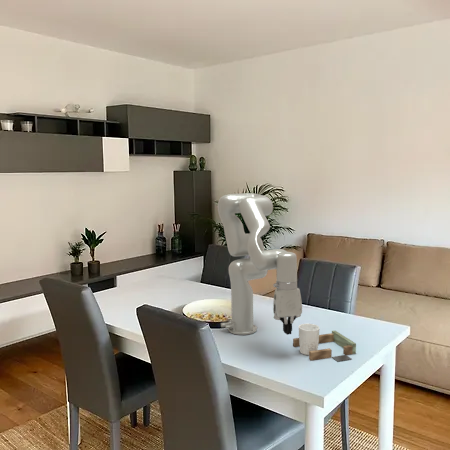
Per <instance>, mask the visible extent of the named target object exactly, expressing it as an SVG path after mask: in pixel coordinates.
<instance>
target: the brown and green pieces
mask: <svg viewBox="0 0 450 450" xmlns="http://www.w3.org/2000/svg"><path fill="white" fill-rule="evenodd" d="M325 343H335V344H336V345H338V346H339V347H341V348H342V349H343V351H342V355H335V356H332V352H333V350H332V349H331V348H328V347H327V348H321V349H318V350H315V351H309V355H308V356H309V357H308V359H309V360H310V361H317V360H323V359H330V358H332V360H334V361H336V362H337V363H339V362H345V361H351V360H353V359H352V358H351V357H350V356H348V355H356V354H357V343H356V342H354V341H353V340H351V339H350V338H348V337H346V336H344V335H343V334H342V333H340V332H339V331H337V330H331V333H325V334H319V343H318V345H319V344H325ZM292 346H293V347H294V348H300V344H299V337H295V338H292Z"/></svg>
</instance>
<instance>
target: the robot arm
mask: <svg viewBox="0 0 450 450" xmlns="http://www.w3.org/2000/svg"><path fill="white" fill-rule="evenodd" d="M273 210H274V206H273V201H272V200H271V199H270V198H269V197H268V196H267V195H263V194H259V193H254V192H253V193H252V192H248V193H244V192H243V193H229V194H224V195H222V196H220V198H219V200H218V201H217V213H218V216H219V219H220V221H221V224H222V226H223V231H224V236H225V240H226V244H227V245H226V246H227V250H228V253H229V255H230V256H232V257H244V256H249V257H247V258H240V259H235V260H233V261H231V262H230V264H229V265H228V275H229V280H230V296H231V297H230V298H231V299H230V300H231V302H230V303H231V308H230V309H231V319H229V321H227V322H220V327H221V328H225V329H227V330H228V332H229V333H231V334H232V335H239V336H241V335H242V336H244V335H245V336H246V335H252V334H254V333H256V332H257V330H258V327H257V326H256V324H254V290H253V288H252V286H251V284H250V283H249V281H251V280H252V281H253V280H259V279H263V278H265V277H267V274H268V271H269V270H270V271H271V270H276V281H275V283H273V285H272V286H273V288H275V289H274V296H273V303H272V305H273V307H272V310H273V319H274V320H277V321H280V322H281V323H282V331H283V333H284V334H286V335H292V331H293V324H294V321H295V320H296V319H298V318H300V317H301V316H302V314H303V304H302V303H303V301H302V295H301V290H300V287H298V264H297V263H298V261H297V254H296V253H294V252H293V251H287V250H286V249H283V248H276V249H275V248H274V249H266V250H265V247H264V242H263V240H262V237H263V236H264V235H266V234H267V233H268V232H269V230H270V229H271V225H270V222H269V220H268V219H267V216H271V214H272V213H273V212H274V211H273ZM236 214H241V218H242V219H243V220H244V223H245V225H246V227H247V229H248V232H249V233H246V232H245V229H244V224H243V223H242V221H241V219H240V218H239V217H238V216H237V215H236Z"/></svg>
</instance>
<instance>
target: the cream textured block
mask: <svg viewBox="0 0 450 450" xmlns="http://www.w3.org/2000/svg"><path fill="white" fill-rule="evenodd" d="M319 335H320V326H319V325H317V324H313V323H302V324H299V326H298V338H299V344H300V346H299V352H300V353H301V354H302V355H305V356H309V351H315V350H319V344H318V343H319Z"/></svg>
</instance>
